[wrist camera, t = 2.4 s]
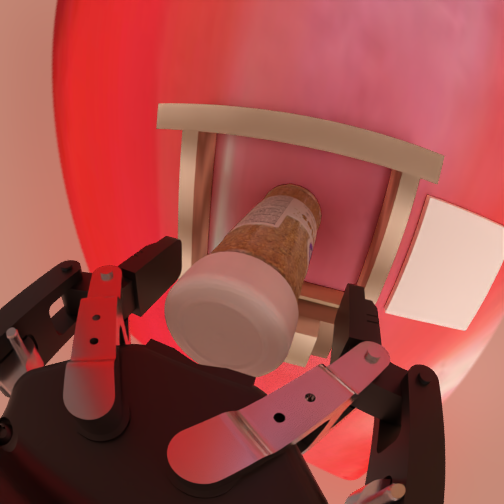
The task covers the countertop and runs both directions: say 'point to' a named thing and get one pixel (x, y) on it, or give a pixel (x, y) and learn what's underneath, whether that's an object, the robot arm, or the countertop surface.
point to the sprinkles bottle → (248, 287)
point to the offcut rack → (313, 136)
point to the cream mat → (447, 266)
